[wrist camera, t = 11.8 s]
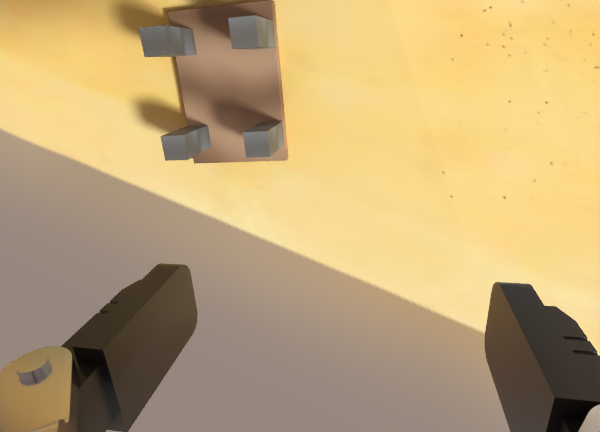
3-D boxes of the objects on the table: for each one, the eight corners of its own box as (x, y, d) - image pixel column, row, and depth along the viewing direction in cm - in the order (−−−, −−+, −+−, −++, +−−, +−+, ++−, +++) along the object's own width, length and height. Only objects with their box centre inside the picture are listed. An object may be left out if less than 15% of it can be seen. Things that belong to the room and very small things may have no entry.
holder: (173, 13, 35) (134, 5, 29) (274, 1, 33) (252, -10, 27) (198, 160, 39) (169, 177, 34) (288, 157, 37) (272, 175, 32)
